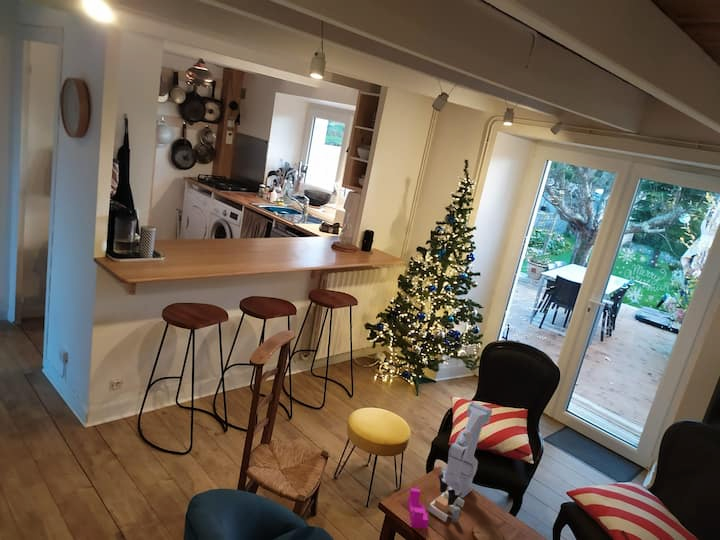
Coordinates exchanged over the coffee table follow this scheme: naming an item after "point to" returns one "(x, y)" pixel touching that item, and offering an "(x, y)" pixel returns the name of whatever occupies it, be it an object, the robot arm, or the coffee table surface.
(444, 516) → the rack
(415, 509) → the toy block
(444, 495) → the green block
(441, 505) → the handled block
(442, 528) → the coffee table surface
